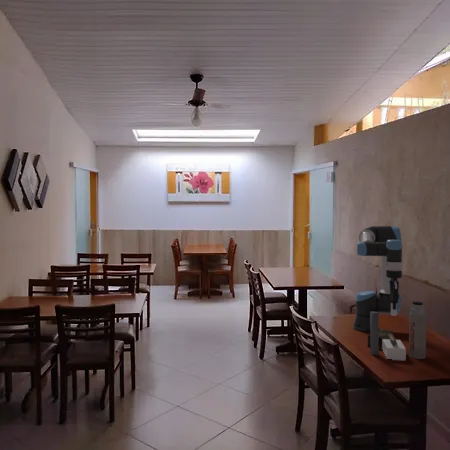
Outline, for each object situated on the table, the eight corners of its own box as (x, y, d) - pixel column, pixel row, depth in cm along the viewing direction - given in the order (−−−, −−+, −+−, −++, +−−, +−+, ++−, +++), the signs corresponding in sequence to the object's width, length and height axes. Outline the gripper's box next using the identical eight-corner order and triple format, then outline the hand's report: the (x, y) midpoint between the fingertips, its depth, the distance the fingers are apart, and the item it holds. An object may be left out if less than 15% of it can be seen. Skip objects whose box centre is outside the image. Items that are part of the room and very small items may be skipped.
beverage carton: (392, 341, 258) (392, 329, 257) (381, 349, 243) (381, 337, 242) (378, 338, 263) (379, 327, 262) (367, 347, 248) (367, 335, 247)
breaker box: (382, 350, 241) (382, 339, 241) (400, 351, 239) (400, 339, 239) (386, 359, 226) (386, 347, 226) (405, 360, 225) (405, 348, 224)
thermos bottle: (413, 359, 226) (414, 304, 225) (406, 354, 234) (406, 300, 233) (428, 358, 227) (429, 303, 226) (420, 353, 235) (421, 300, 234)
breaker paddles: (389, 340, 238) (387, 334, 238) (393, 338, 237) (391, 333, 237) (392, 345, 228) (390, 340, 228) (397, 344, 228) (395, 338, 228)
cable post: (370, 352, 237) (369, 311, 236) (377, 353, 236) (377, 311, 235) (370, 355, 233) (370, 313, 232) (379, 355, 232) (378, 313, 232)
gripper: (384, 268, 238) (384, 312, 239) (388, 271, 225) (388, 318, 226) (399, 268, 237) (399, 312, 237) (404, 271, 224) (404, 318, 225)
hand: (393, 315), depth 232 cm, fingers closed
